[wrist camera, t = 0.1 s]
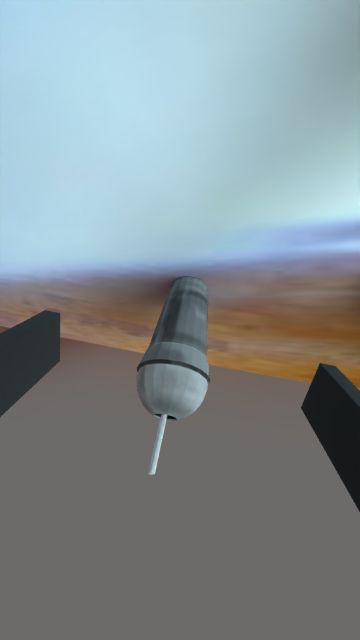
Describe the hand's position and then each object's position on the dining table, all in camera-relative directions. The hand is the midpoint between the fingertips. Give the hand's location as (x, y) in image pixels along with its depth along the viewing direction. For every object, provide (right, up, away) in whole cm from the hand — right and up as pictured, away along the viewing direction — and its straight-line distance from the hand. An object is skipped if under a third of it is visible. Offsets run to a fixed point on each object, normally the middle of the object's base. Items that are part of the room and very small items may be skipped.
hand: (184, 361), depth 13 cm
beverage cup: (+1, +6, +19) cm, 20 cm away
